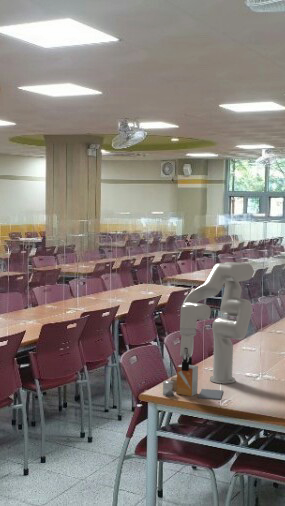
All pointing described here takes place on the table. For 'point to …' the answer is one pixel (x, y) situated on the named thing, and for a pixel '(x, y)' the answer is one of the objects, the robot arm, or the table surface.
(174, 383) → the walnut block
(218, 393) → the slate mat
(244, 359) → the table surface
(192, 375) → the small box
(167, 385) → the grey metal cylinder
